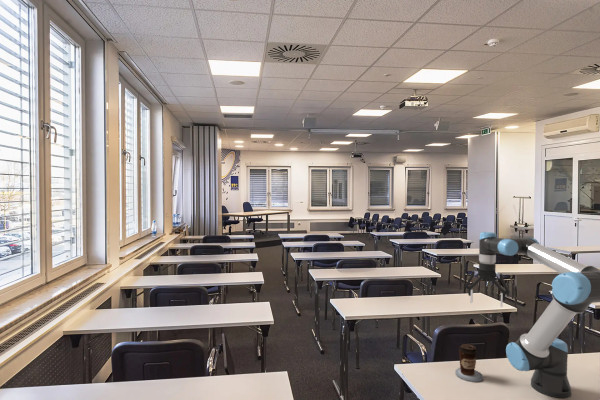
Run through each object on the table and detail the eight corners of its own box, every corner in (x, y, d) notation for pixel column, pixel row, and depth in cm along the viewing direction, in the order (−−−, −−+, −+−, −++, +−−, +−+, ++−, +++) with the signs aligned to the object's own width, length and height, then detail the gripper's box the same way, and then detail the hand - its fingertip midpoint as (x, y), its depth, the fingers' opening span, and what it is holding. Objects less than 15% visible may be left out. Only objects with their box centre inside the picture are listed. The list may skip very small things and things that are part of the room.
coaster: (483, 373, 178) (483, 371, 178) (482, 384, 168) (482, 382, 168) (457, 367, 184) (457, 365, 184) (453, 377, 174) (453, 375, 174)
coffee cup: (480, 377, 172) (481, 350, 172) (463, 377, 172) (463, 350, 172) (472, 369, 181) (472, 342, 181) (455, 368, 181) (455, 342, 181)
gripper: (515, 264, 183) (514, 306, 183) (461, 259, 195) (460, 298, 195) (515, 266, 176) (514, 310, 176) (459, 261, 188) (458, 302, 189)
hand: (486, 304), depth 186 cm, fingers open, 13 cm apart
